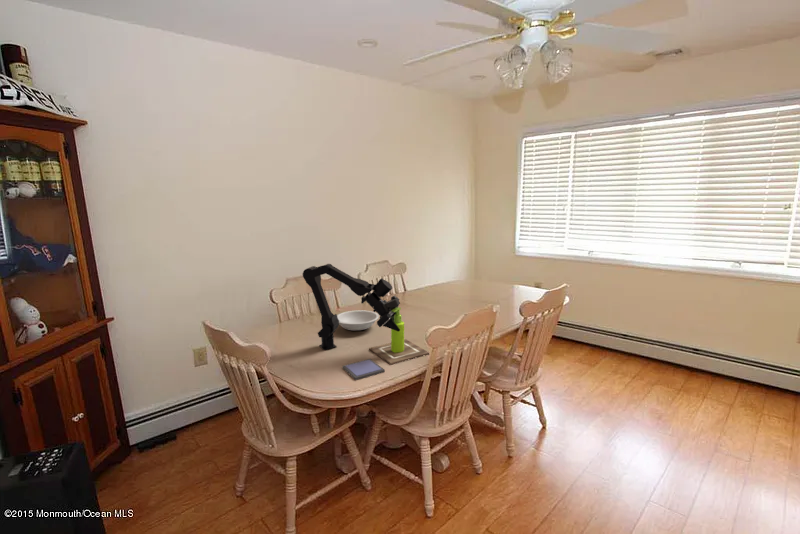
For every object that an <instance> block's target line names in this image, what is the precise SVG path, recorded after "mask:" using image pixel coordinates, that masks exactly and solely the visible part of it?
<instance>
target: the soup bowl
mask: <svg viewBox="0 0 800 534" xmlns="http://www.w3.org/2000/svg"><path fill="white" fill-rule="evenodd" d="M379 317H380V315H379V314H378V313H377V312H376V311H375V312H374V311H373V310H364V309H363V310H362V309H360V310H358V309H357V310H347V311H344V312H340V313H337V318H338V320H339V327H340V326H341V327H342V328H343V329H345V330H348V331H363V330H367V329H369V328H371V327H372V326H373V325H374V324H375V323H376V322H377V321H378V320H379V319H380V318H379Z"/></svg>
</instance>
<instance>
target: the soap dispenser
mask: <svg viewBox="0 0 800 534" xmlns="http://www.w3.org/2000/svg"><path fill="white" fill-rule="evenodd" d="M401 310H402V308H401V307H399V306H398V307H397V308H394V309H393V310H392V312H396V314H395V315H394V322H395V323H396V325H397V326H398V327H399V329H400V331H399V332H398V331H396V330H393V329H390V331H391V333H390V334H391V335H390V343H391V351H392V352H396V353H399V352H403V351H404V339H405V321H403V319H402V314H400V313H401V312H400V311H401Z"/></svg>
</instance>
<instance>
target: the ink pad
mask: <svg viewBox="0 0 800 534" xmlns="http://www.w3.org/2000/svg"><path fill="white" fill-rule="evenodd" d="M341 369H343V370H344V371H345V372H346V373H347V374H348V375H349V374H350V376H351V377H352V378H353V380H355V381H357V380H361V379H365V378H368V377H373V376H375V375H380V374H383V373H385V372H386V370H385V368H384V367H382V366H381V365H379V364H378V363H376V361H374V360H372V359H371V358H367V359H364V360H360V361H356V362H353V363H348V364H345V365H342V368H341Z"/></svg>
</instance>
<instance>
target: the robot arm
mask: <svg viewBox="0 0 800 534" xmlns="http://www.w3.org/2000/svg"><path fill="white" fill-rule="evenodd" d="M325 274H326V275H328V276H329V277H331V278H333V279H335V280H337V281H339V282H341V284H344V285H345V286H347V287H348V288H349V289H350V290H351V292H353V293H354V294H356V295H357V296H358V297H361V298H360V299H361V304H362V305H363V304H364V303H365V302H366V303H367V304H368V305H369V306H370V307H371V308H372V312H375V313H377V314H378V315H379V318H378V319H377V320H376V325H377V326H378V327H379V328H382V327H385V328H387V329H390V330H391V329H393V330H396V331H398V332H399V331H400V329H399V327H398V326H397V325H396V323H395V322H394V315H395V314H396V312H392V310H393V309H394V308H397V307H398V308H399V306H400V305H401V303H400V298H399V297H398V296H396V295H393V296H391V297H390V299H389V300H386V299H382V298H384V297H386V296H387V294H389V293H390V292H391V291H392V290H393V285H392V284H391V283H390V282H388V280H386V279H384V278H380V279H379V280H378V281H377V283H376V284H374V283H369V282H368V281H367V280H364V279H361V278H356V277H353V276H351V275H349V274H348V273H346V272H344V271H343V270H341V269H339V268H338V267H335V266H334V265H332V264H331V263H326V264H324V265H320V266H315V265H314V266H313V265H312V266H310V267H307V268H305V269H304V270H303V272H302V277H303V280H304V281H305V283H306V285H308V286H309V287H310V288H311V291H312V294H313V297H314V299H315V302H316V304H317V307H318V311H319V313H320V316H321V319H320V320H321V323H320V325H321V330H319V331H318V332H317V336H318V338H320V340H321V341H320V342H321V344H319V348H321V349H322V350H323V351H326V350H330V349H335V348H337V345H336V344H335V339H334V333H335V332H336V330H337V329H338V328H339V327H340V325H339V320H338V318H337V315H338V313H335V314H334V313H332V311H331V308H330V306H329V302H328V300H327V298H326V295H325V292H324V289H323V287H322V283H321V282H322V276H323V275H325ZM381 297H382V298H381Z"/></svg>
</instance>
